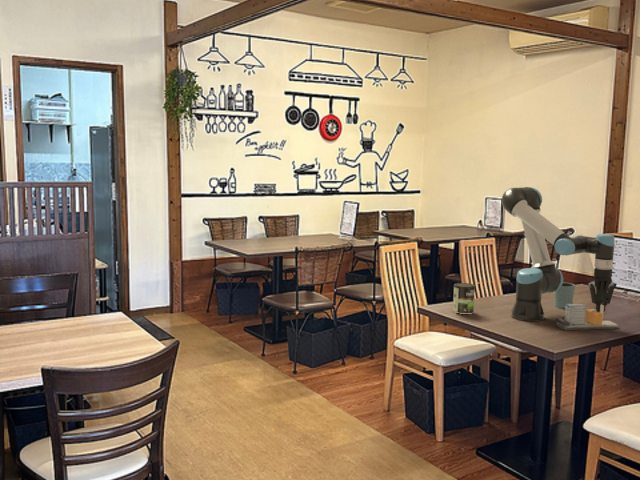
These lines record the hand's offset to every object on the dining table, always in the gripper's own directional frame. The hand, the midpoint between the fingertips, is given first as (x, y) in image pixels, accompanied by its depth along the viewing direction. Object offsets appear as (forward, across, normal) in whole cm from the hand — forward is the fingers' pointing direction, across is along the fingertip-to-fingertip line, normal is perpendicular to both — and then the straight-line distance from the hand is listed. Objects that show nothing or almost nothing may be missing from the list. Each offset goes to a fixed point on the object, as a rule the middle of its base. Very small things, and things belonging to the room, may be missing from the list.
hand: (599, 318), depth 283 cm
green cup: (+4, +2, +38) cm, 38 cm away
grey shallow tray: (+4, -6, 0) cm, 7 cm away
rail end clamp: (+2, -3, 0) cm, 4 cm away
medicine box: (+2, -12, 0) cm, 12 cm away
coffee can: (+4, -54, +31) cm, 62 cm away
